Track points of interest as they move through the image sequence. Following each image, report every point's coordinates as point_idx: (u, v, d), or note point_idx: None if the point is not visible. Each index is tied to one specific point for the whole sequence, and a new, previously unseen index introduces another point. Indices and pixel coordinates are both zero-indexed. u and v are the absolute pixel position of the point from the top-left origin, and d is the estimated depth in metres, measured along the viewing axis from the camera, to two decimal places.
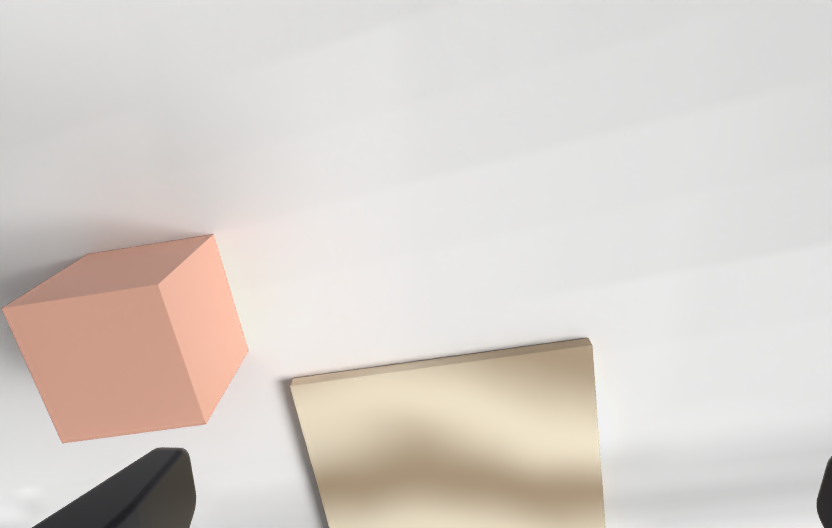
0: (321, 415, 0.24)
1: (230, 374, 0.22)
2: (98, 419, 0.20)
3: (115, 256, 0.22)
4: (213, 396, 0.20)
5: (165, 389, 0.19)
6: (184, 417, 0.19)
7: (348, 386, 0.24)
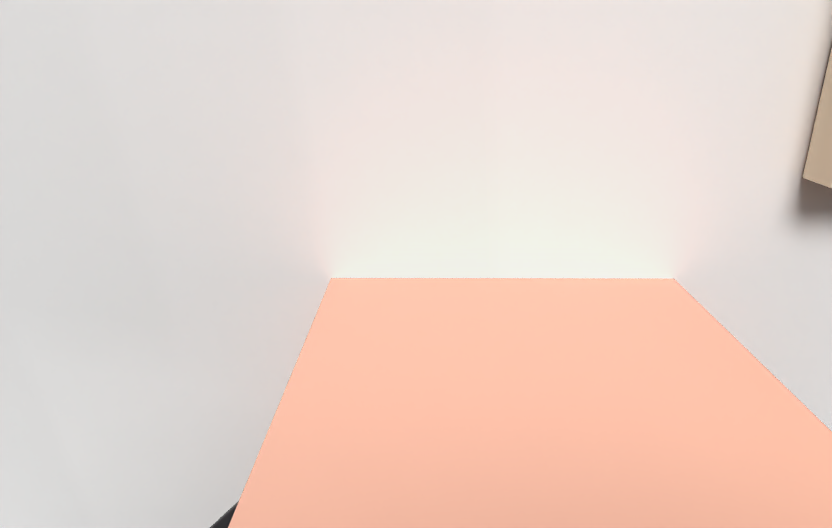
0: None
1: (730, 351, 0.07)
2: None
3: None
4: (807, 449, 0.05)
5: None
6: None
7: None
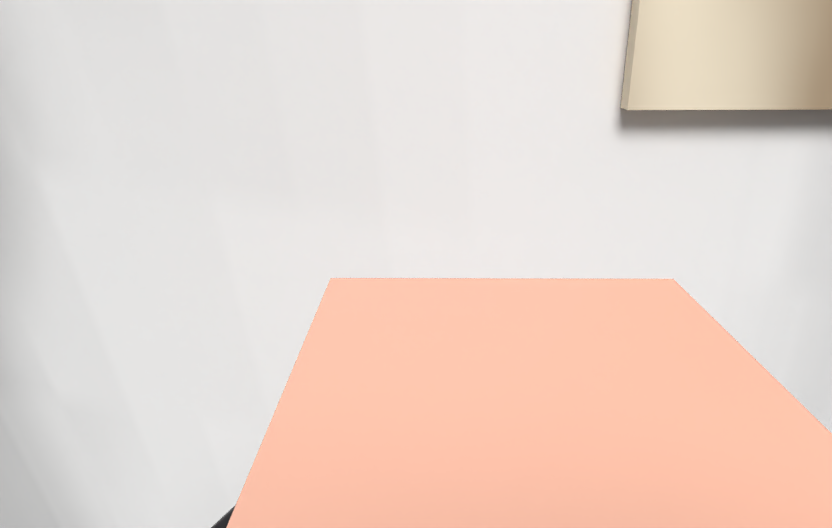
0: (693, 71, 0.15)
1: (732, 354, 0.07)
2: None
3: None
4: (808, 453, 0.05)
5: None
6: None
7: (653, 13, 0.15)
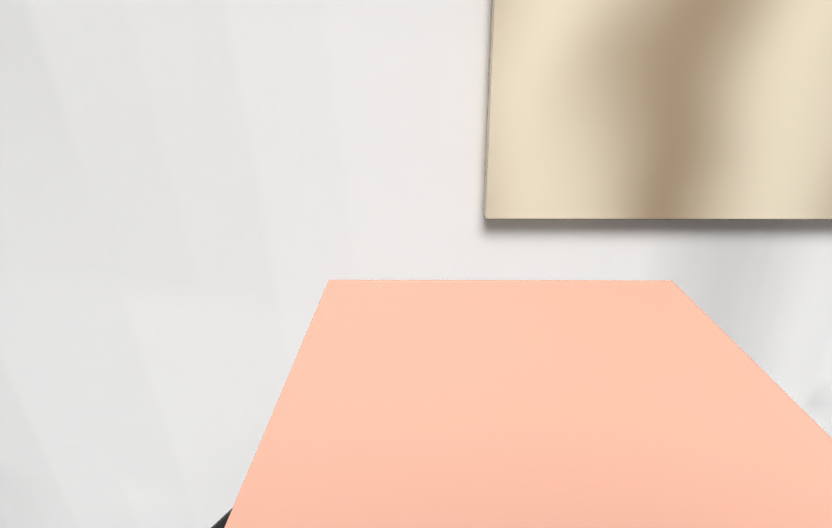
0: (540, 186, 0.17)
1: (730, 356, 0.07)
2: None
3: None
4: (807, 458, 0.05)
5: None
6: None
7: (502, 138, 0.17)
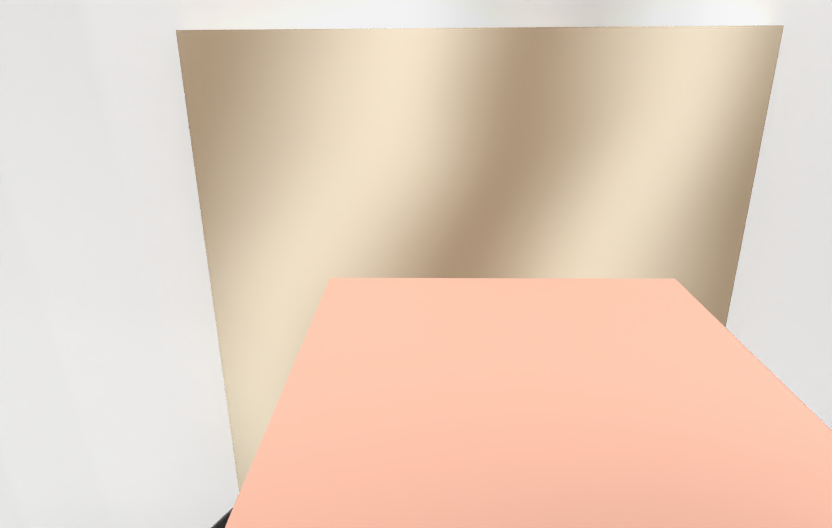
0: None
1: (735, 355, 0.07)
2: None
3: None
4: (815, 456, 0.05)
5: None
6: None
7: (245, 435, 0.15)
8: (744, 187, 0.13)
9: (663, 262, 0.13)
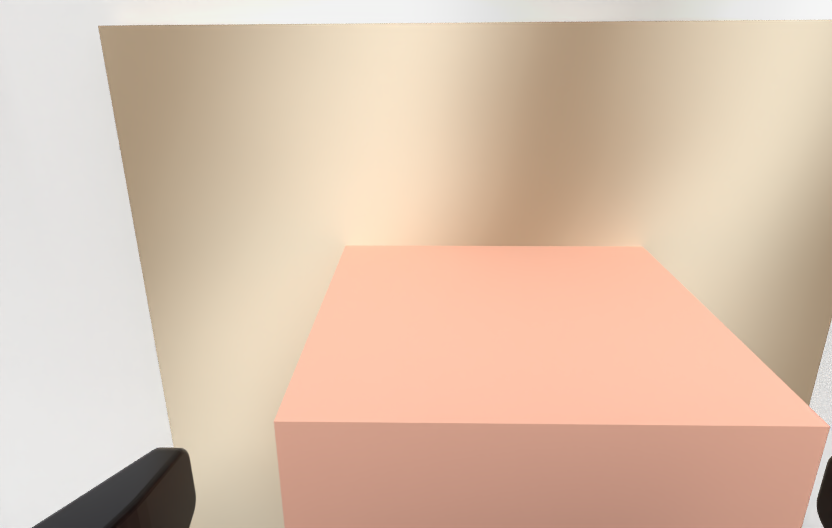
0: None
1: (683, 300, 0.08)
2: None
3: None
4: (732, 365, 0.06)
5: (651, 504, 0.06)
6: (775, 482, 0.06)
7: None
8: None
9: (734, 324, 0.10)
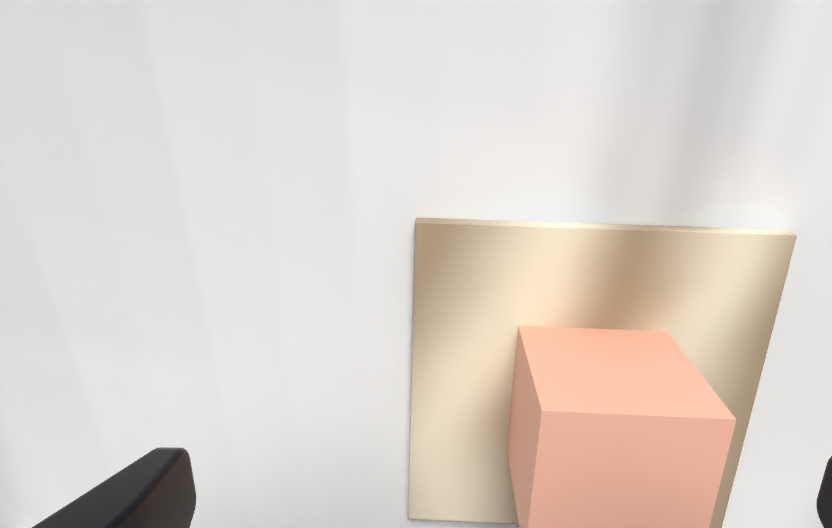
0: (448, 500, 0.23)
1: (686, 365, 0.18)
2: (684, 523, 0.17)
3: (513, 428, 0.20)
4: (705, 396, 0.16)
5: (672, 445, 0.16)
6: (717, 438, 0.16)
7: (419, 470, 0.22)
8: (767, 328, 0.20)
9: (712, 371, 0.21)
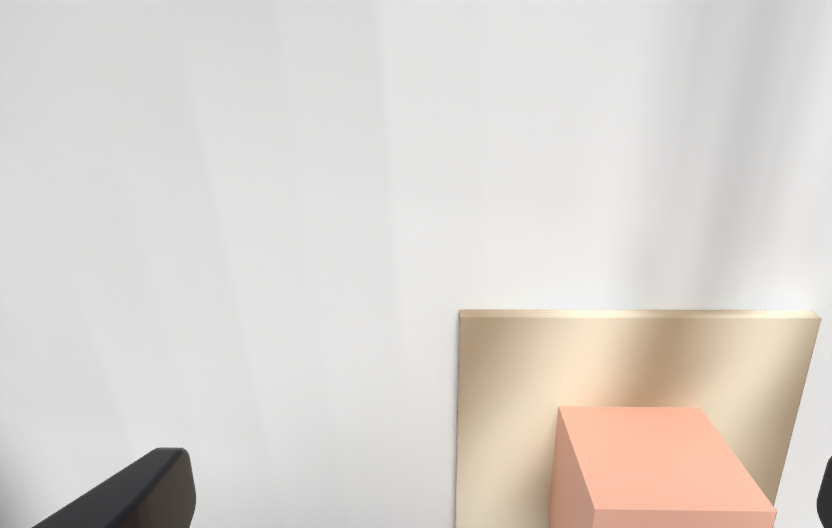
0: None
1: (723, 447, 0.19)
2: None
3: (557, 503, 0.21)
4: (744, 484, 0.17)
5: None
6: None
7: None
8: (795, 401, 0.21)
9: (743, 441, 0.22)
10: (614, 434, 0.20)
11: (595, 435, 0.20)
